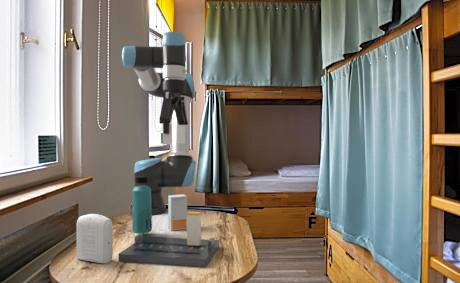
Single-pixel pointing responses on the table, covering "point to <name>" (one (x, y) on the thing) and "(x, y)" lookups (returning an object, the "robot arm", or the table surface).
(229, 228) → the table surface
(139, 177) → the beverage bottle
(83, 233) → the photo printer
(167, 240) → the console
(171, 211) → the skincare box
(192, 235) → the fader
